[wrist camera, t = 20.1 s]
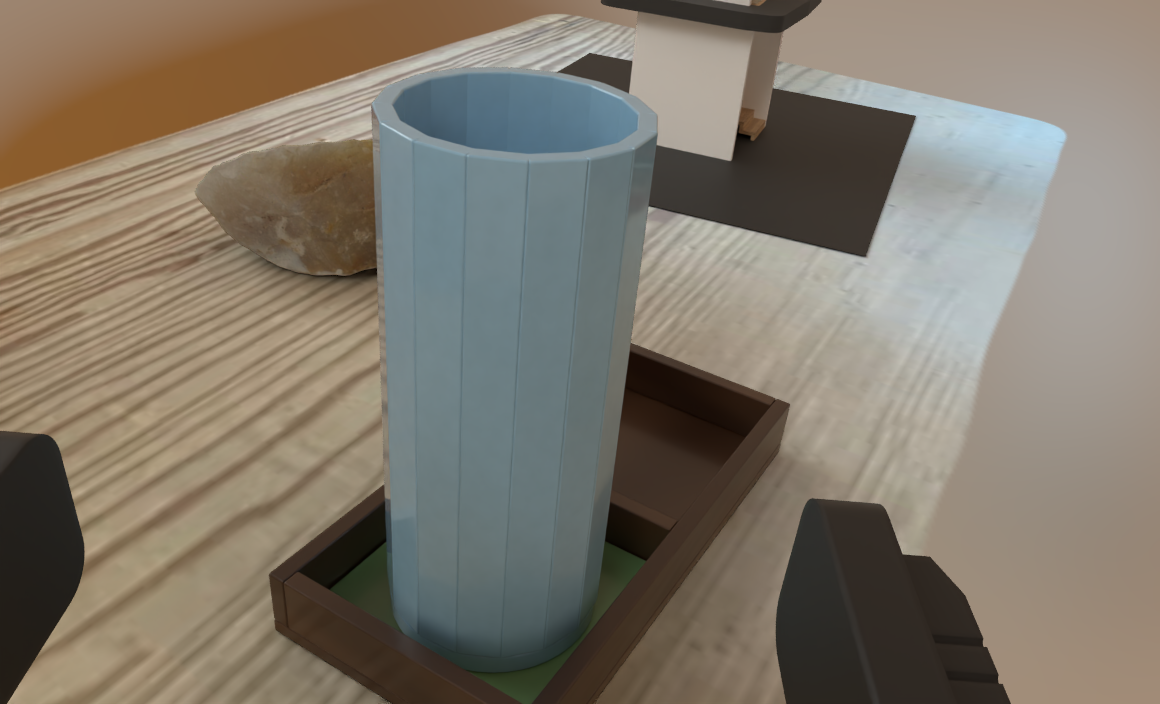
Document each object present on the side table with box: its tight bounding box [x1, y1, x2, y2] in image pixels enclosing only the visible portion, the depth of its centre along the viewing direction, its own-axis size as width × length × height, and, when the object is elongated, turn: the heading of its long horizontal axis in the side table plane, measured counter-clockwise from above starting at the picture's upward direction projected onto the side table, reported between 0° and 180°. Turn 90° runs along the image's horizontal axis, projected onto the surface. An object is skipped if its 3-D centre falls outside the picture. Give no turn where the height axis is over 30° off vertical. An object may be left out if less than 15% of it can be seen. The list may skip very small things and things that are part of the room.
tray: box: [269, 343, 790, 704], centre depth 28 cm, size 8×15×2 cm, turn 149°
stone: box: [195, 139, 377, 276], centre depth 41 cm, size 7×6×15 cm
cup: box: [371, 67, 658, 673], centre depth 22 cm, size 5×5×13 cm
